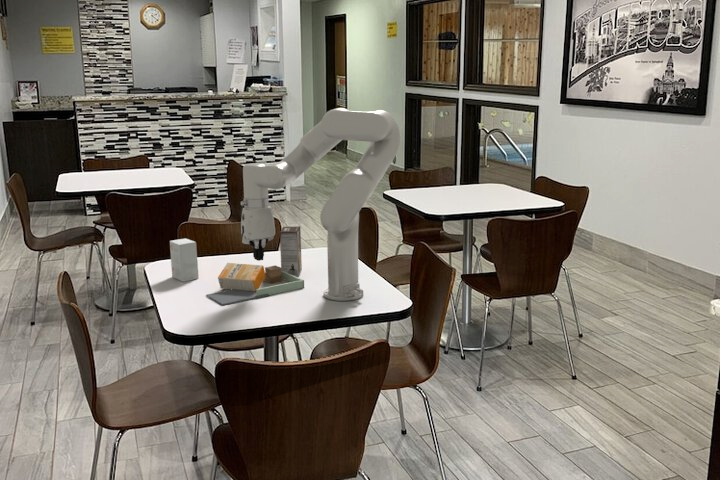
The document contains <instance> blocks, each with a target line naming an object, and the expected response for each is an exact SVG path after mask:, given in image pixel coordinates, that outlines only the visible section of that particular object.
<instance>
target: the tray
mask: <svg viewBox="0 0 720 480" xmlns="http://www.w3.org/2000/svg"><path fill="white" fill-rule="evenodd" d="M282 280H283V281H286V283H280V284H276V285H275V284H274V285H272V286H271V285H270V286H266V287H262V288H260V287H259V289H256V293H257V296H259V295H264V294H269V296H270V295H275V294H279V293H280V294H281V293H284V292H285V293H286V292H289V291H293V290H299V289H303V288H305V280H304V279H302V278H300V277H295V276H293V275H291V274H288V273H286V272H284V271H282ZM263 282H266V277H265V278H264V280H263Z"/></svg>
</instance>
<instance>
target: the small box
mask: <svg viewBox="0 0 720 480" xmlns="http://www.w3.org/2000/svg"><path fill="white" fill-rule="evenodd" d="M169 250H170V252H169V253H170V266H171V278H174V279H176V280H178V281H180V282H182V283H183V282H187V281H192V280H196V279H199V265H198V251H197V250H198V249H197V242H196V241H194V240H191V239H189V238H186V237H185V238H180V239H179V238H178V239H174V240H169Z"/></svg>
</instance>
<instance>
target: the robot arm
mask: <svg viewBox="0 0 720 480" xmlns="http://www.w3.org/2000/svg"><path fill="white" fill-rule="evenodd" d="M342 141H354V142H355V141H356V142H368V143H369V142H370V144H369V145H368V147H367V149H365V151H364V152H363V153H362V154H363V155H362V156H361V158H360V159H359V161H358V162H357V164H356V165H355V166H354V167H353V169H352V170H350V171H349V172H348V173H346V174H345V175H344V176H343V177H342V178H341V180H339V183H338V184H337V186H336V187H335V189H334V190H333V192H331V195H330V196H329V197H328V200H327V201H326V202H325V204H324V206H323V207H322V209H321V211H320V216H319V217H320V219H319V220H320V223H321V226H322V227H323V228H324V230H326V231H327V283H328V288H326V289H325V290H324V291H323V297H324V298H325V299H327V300H331V301H337V302H344V301H345V302H347V301H354V300H358V299H360V298H362V297H363V296H364V290H363V289H362V288H361V287H360V283H359V223H360V211H361V209H362V208H363V207H364V205H365V203H366V202H367V201H368V200H369V199H370V197H371V196H372V194H374V192H375V190H376V188H377V186H378V184H379V183H380V182H381V180H382V178H383V177H384V175H385V173H386V172H387V171H388V169H389V168H390V166H391V164H392V163H393V162H394V159H395V158H396V155H397V153H398V150H399V148H400V143H401V133H400V129H399V125H398V123H397V120H396V119H395V118H394V116H393V115H392V114H391V113H390V112H389V111H387V110H383V109H382V110H381V109H377V110H373V111H357V110H349V109H347V108H345V107H338V108H333V109H330V110H328V111H327V112H325V114H324V115H323V117H322V119H321V120H320V121H319V122H318V123H317V124H316V125H315V126H313V127H312V128H310V130H308V132H306V133H305V134H304V135H303V136H302V137H301V139H300V141H299V143H298V145H297V146H296V147H295V148H294V149H293V150H291V152H290V153H289V154H287V156H285V157H284V158H282V160H280V161H279V162H276V163H274V164H271V165H266V164H264V163H256V162H255V163H252V162H251V163H247V164H245V165H243V167H242V179H243V181H242V182H243V200H242V201H240V205H241V206H243V208H242V211H241V218H240V219H241V220H240V235H241V238H242V239H241V240H242V241H241V243H242V244H245V245H250V246H251V248H252V255H253V259H254V260H256V261H259V262H260V261H264V256H265V249H264V248H265V247H266V244H267V243H268V242H270V241H272V240H274V237H275V235H276V227H275V218H274V214H273V208H272V206H270V205H269V203H270V202H269V189H271V190H280V189H283V188H284V187H286V186H288V185H290V184H291V183H293V182H294V181H295V180H297V179H298V178H299V177H300V176H302V175H303V173H305V172H306V171H307V170H308V169H310V167H312V166H314V164H315V163H317V162H318V161H319V160H320V159H322V158H323V157H325V156H326V154H327V153H328V152H330V151H331V150H332V149H333V148H335V147H336V146H337V145H338V144H339V143H340V142H342Z"/></svg>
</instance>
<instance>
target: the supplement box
mask: <svg viewBox="0 0 720 480" xmlns="http://www.w3.org/2000/svg"><path fill="white" fill-rule="evenodd" d="M265 277H266V275H265V266H264V265H261V264H247V263H233V262H227V263H226V264H225V266H224V267H223V269H222V270H221V272H220V273H219V275H218V277H217V280H218V284H219V287H220V289H223V290H224V289H225V290H232V289H235V290H246V291H256V289H260V287H261V285H262V283H263V282H264V281H263V280H264V278H265Z"/></svg>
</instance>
